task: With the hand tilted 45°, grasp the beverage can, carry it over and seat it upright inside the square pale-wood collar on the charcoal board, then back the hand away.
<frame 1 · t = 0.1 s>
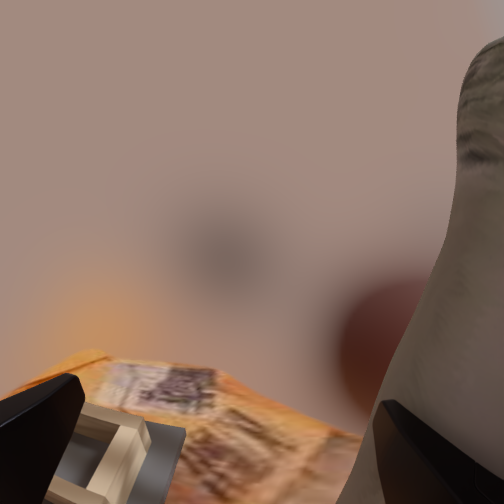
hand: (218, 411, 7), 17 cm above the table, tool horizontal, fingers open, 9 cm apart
can collar: (86, 472, 17), on the table
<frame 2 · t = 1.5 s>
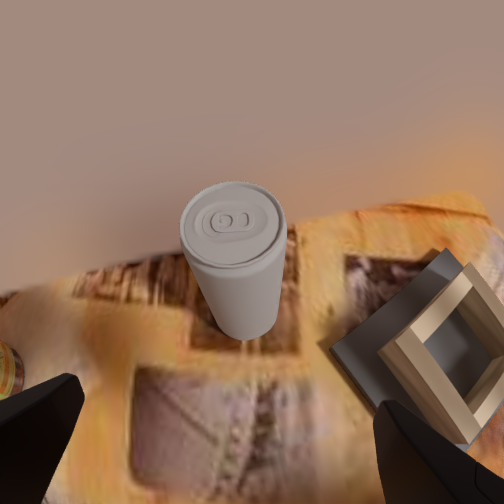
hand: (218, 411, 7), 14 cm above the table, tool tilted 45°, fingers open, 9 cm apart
can collar: (446, 361, 20), on the table
sauce bottle: (9, 374, 20), on the table
beverage can: (246, 313, 23), on the table
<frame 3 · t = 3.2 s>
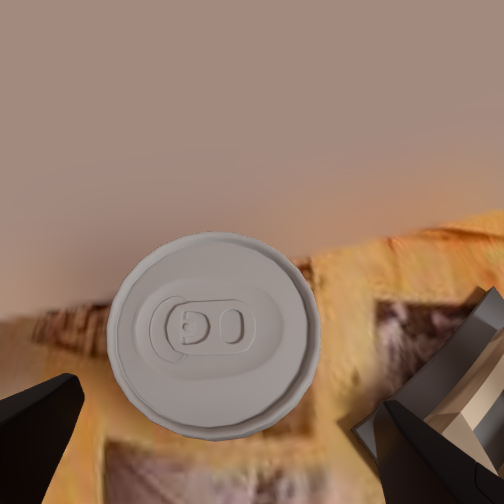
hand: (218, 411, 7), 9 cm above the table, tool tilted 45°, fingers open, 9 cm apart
can collar: (484, 427, 13), on the table
beverage can: (244, 382, 16), on the table
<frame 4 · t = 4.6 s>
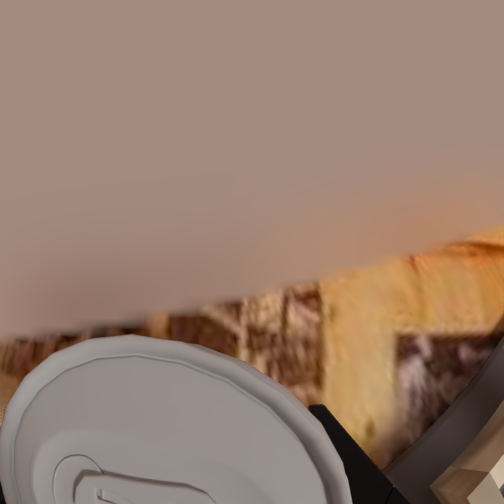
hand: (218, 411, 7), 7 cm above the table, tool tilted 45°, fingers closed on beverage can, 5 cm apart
beverage can: (236, 435, 13), on the table, touching gripper
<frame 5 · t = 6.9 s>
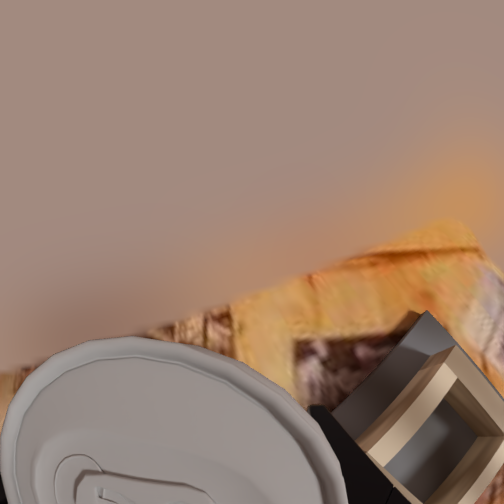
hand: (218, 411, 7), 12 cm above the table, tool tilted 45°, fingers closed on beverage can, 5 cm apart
can collar: (421, 448, 15), on the table
beverage can: (236, 434, 13), point 5 cm above the table, touching gripper
when the fingers open (9 cm above the table, at t = 9.0 s): beverage can drops 1 cm, resting on can collar.
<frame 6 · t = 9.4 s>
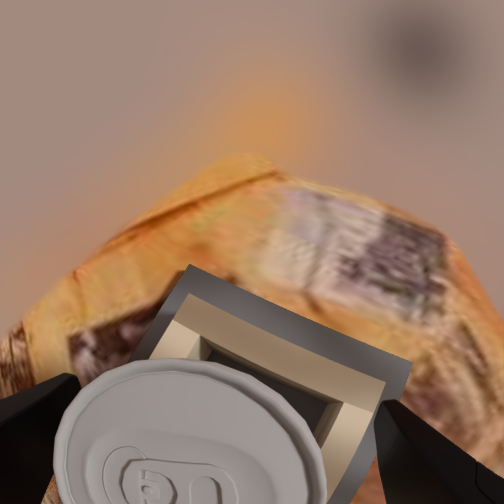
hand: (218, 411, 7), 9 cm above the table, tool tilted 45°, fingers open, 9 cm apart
can collar: (240, 432, 15), on the table
beverage can: (238, 435, 14), point 1 cm above the table, touching can collar
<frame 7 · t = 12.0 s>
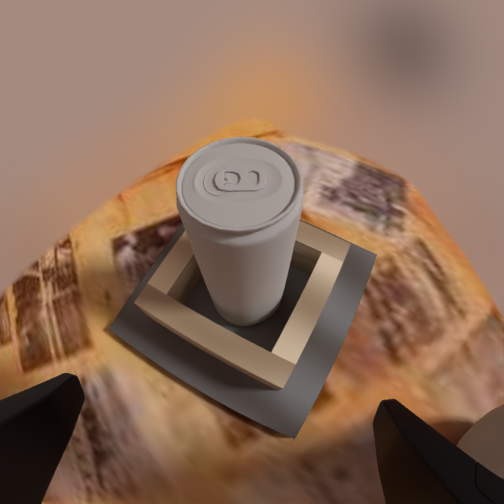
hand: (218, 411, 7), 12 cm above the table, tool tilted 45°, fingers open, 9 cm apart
can collar: (247, 298, 22), on the table
grey tall rounded piece: (470, 460, 15), on the table
beverage can: (247, 296, 21), point 1 cm above the table, touching can collar
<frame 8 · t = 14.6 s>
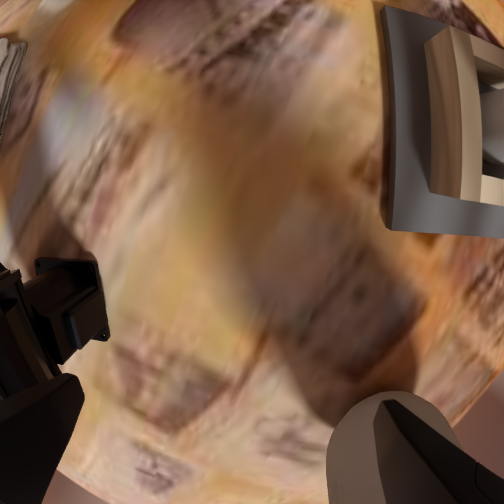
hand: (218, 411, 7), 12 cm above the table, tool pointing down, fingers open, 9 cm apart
can collar: (478, 130, 15), on the table
grey tall rounded piece: (374, 411, 22), on the table
beverage can: (484, 129, 14), point 1 cm above the table, touching can collar
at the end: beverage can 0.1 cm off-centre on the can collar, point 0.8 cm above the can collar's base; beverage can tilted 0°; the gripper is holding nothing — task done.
